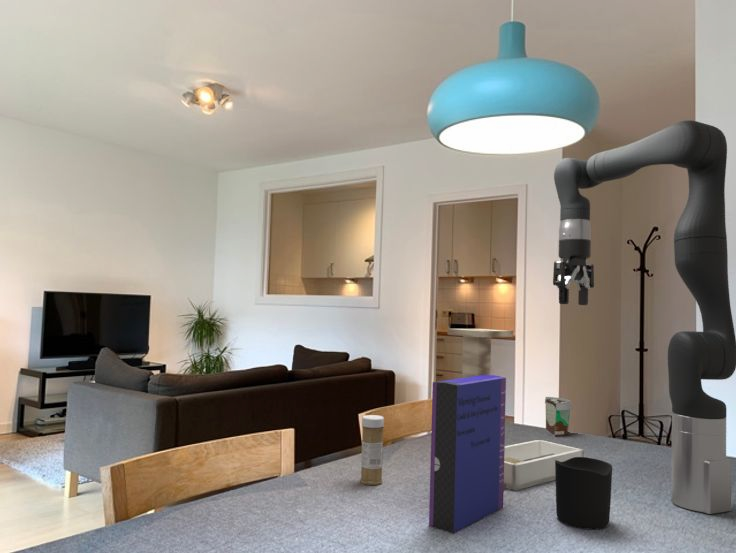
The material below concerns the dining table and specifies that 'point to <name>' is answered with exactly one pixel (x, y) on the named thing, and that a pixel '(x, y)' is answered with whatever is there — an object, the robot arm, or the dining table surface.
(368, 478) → the sprinkles bottle
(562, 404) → the food container
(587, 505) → the pen holder
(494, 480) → the purple book
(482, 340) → the bracket
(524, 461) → the pin
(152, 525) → the dining table surface
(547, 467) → the tray
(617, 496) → the dining table surface
